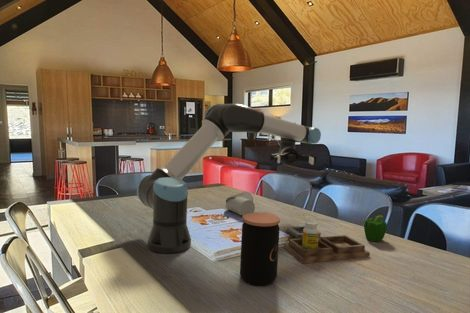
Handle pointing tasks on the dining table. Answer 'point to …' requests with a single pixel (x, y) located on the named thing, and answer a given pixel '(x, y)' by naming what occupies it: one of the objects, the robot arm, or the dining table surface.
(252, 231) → the coffee jar
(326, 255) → the walnut rack
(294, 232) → the can holder
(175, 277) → the dining table surface
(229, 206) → the l-shaped cylinder
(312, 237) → the supplement bottle
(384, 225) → the bell pepper
